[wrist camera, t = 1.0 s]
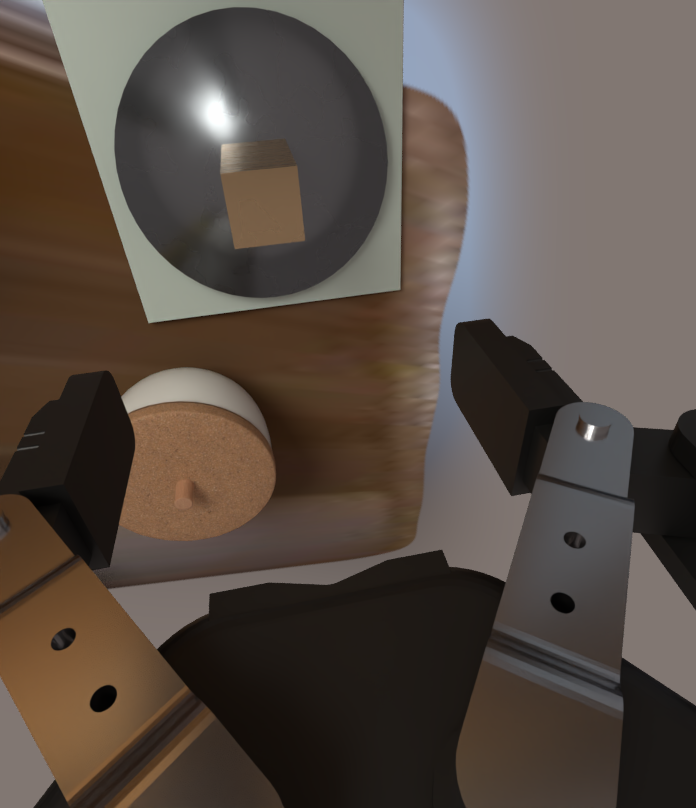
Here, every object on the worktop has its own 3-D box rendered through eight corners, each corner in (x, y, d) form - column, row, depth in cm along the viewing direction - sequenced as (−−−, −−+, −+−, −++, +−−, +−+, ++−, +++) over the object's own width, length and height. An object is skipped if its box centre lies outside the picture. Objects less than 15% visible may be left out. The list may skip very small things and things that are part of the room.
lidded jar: (152, 476, 40) (134, 581, 32) (79, 364, 33) (36, 465, 26) (286, 439, 40) (299, 535, 32) (240, 320, 33) (244, 407, 26)
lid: (72, 18, 23) (24, 19, 17) (382, -3, 24) (426, -8, 19) (160, 306, 31) (146, 366, 26) (385, 277, 33) (415, 328, 27)
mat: (41, -10, 22) (39, -11, 22) (401, -31, 24) (403, -32, 24) (149, 319, 32) (148, 322, 32) (398, 287, 34) (400, 289, 33)
